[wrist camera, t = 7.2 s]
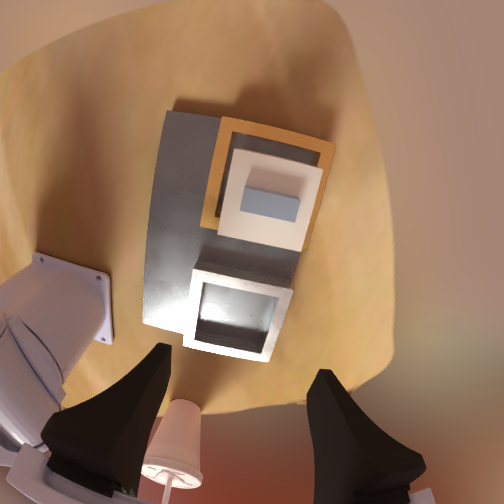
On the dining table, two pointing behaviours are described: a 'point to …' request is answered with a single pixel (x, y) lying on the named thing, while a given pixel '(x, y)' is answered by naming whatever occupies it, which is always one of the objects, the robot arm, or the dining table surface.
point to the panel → (218, 238)
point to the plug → (269, 199)
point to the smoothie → (176, 448)
